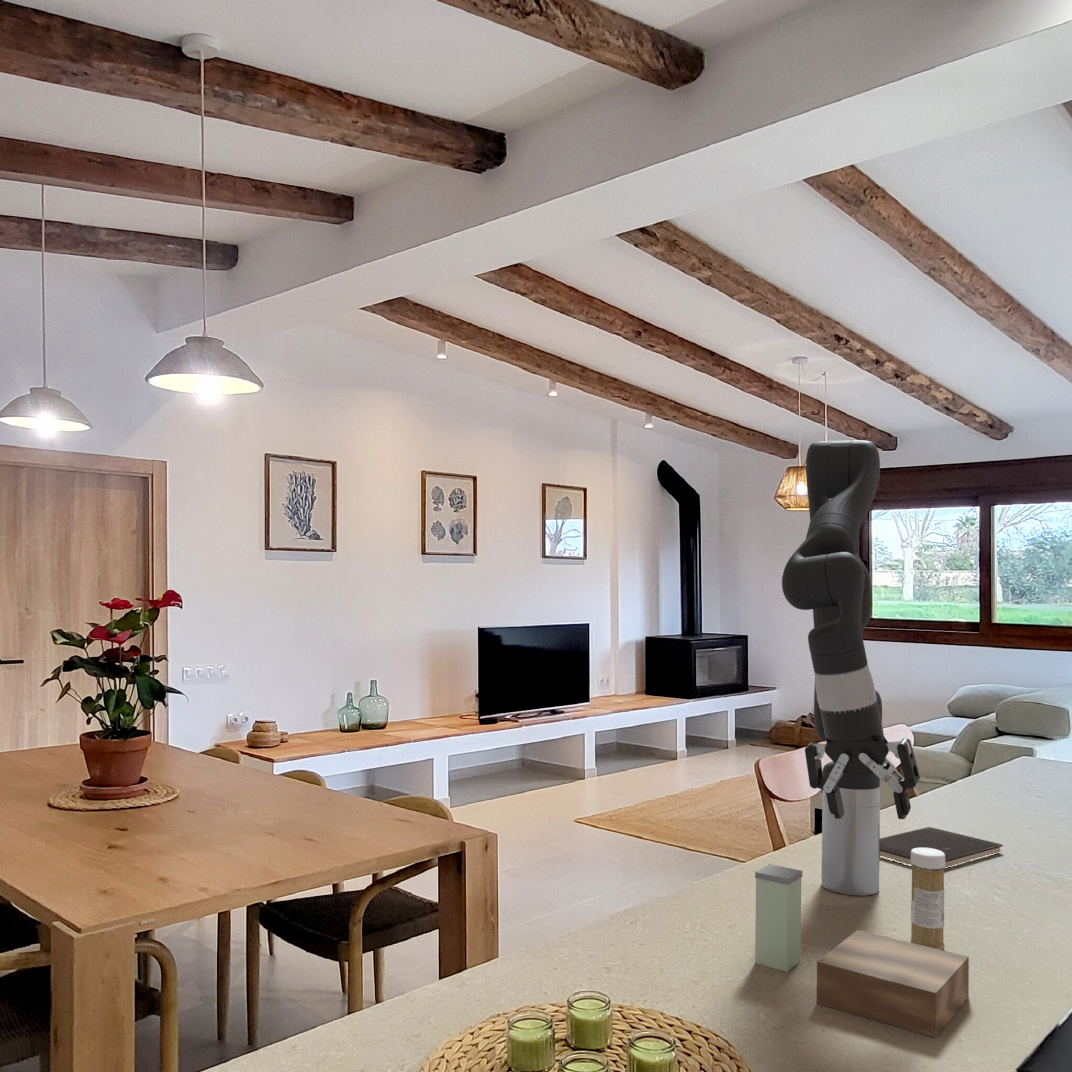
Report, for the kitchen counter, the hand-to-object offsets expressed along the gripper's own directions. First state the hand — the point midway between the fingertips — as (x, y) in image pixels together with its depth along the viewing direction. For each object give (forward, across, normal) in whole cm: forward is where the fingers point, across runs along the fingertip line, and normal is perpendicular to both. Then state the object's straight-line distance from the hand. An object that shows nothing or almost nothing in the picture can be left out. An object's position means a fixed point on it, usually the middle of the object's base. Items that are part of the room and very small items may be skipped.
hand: (870, 816), depth 134 cm
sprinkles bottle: (+22, -2, -7) cm, 23 cm away
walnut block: (+18, -3, +13) cm, 23 cm away
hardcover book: (+31, +10, -57) cm, 66 cm away
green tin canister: (+16, +13, +10) cm, 23 cm away
